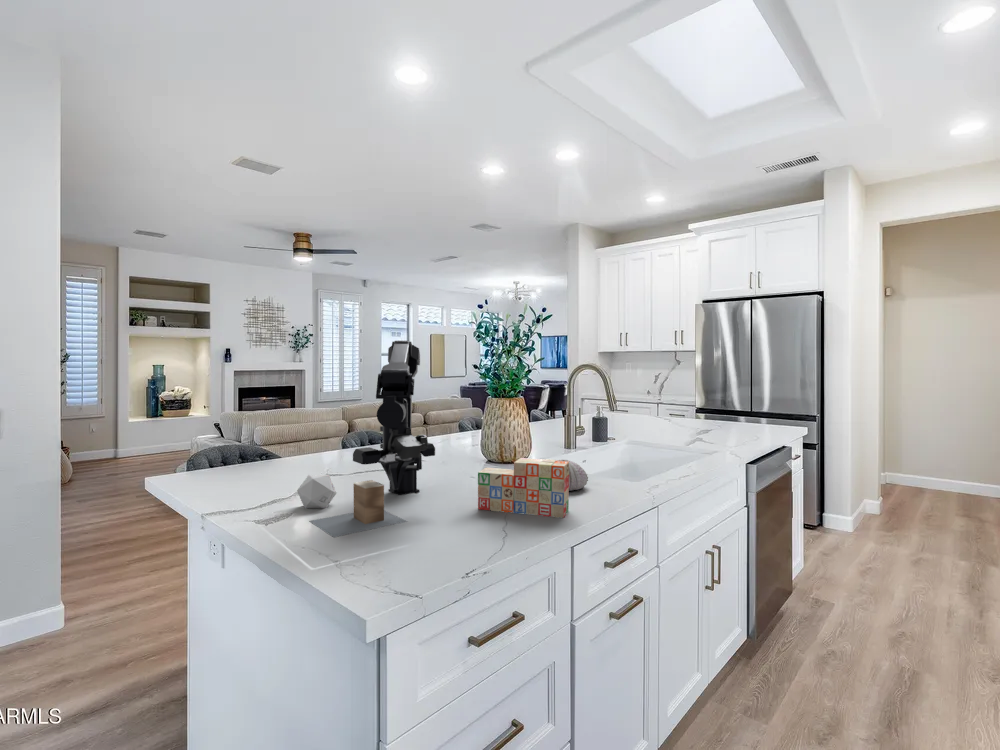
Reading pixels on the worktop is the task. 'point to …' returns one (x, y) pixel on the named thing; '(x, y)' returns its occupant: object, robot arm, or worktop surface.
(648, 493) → the worktop surface
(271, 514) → the worktop surface
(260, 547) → the worktop surface
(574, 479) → the sea urchin shell
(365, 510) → the wooden block
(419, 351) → the robot arm
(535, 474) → the stack of blocks
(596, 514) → the worktop surface
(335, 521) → the rubber mat
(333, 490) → the die
